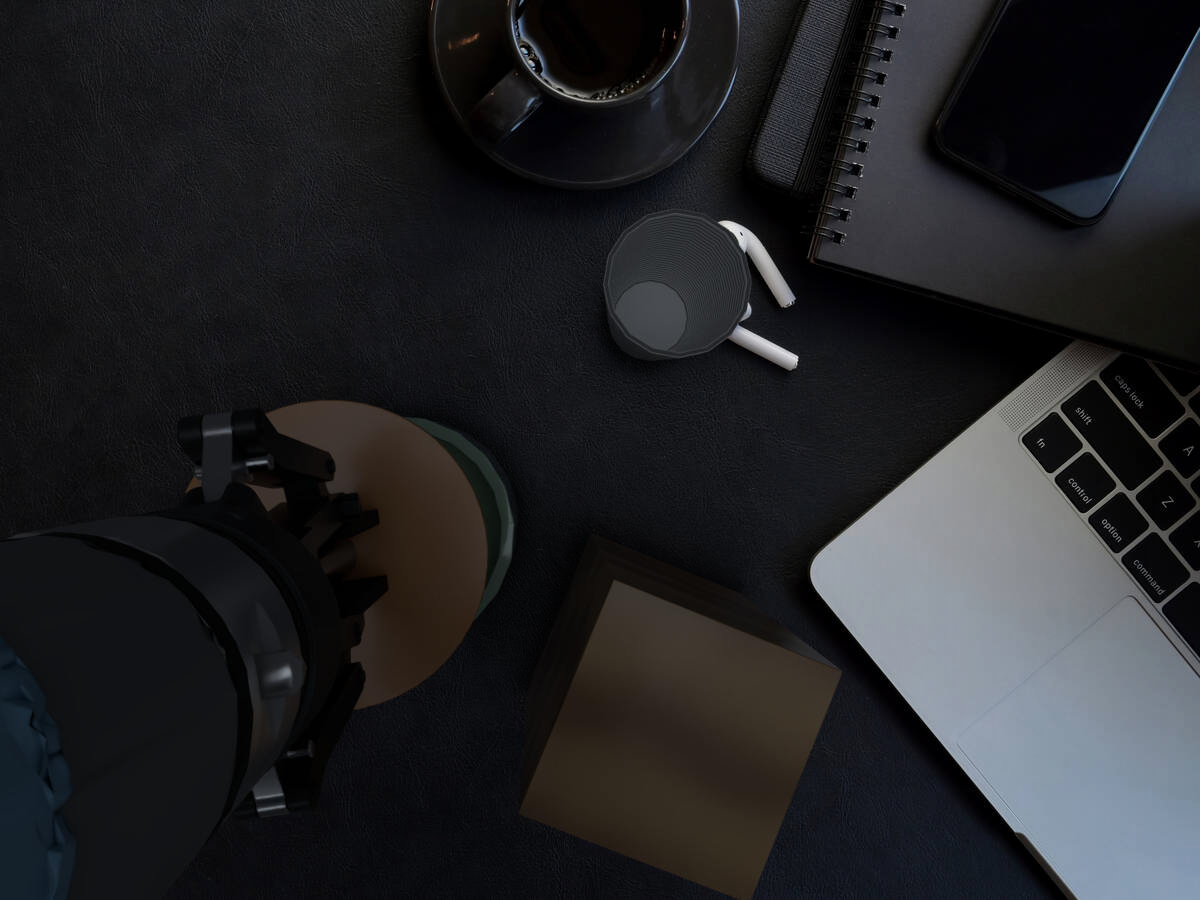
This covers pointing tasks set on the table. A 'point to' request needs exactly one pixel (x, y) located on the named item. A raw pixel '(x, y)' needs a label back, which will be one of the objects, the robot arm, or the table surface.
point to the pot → (484, 498)
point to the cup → (675, 286)
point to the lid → (397, 537)
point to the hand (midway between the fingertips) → (355, 553)
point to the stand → (670, 719)
